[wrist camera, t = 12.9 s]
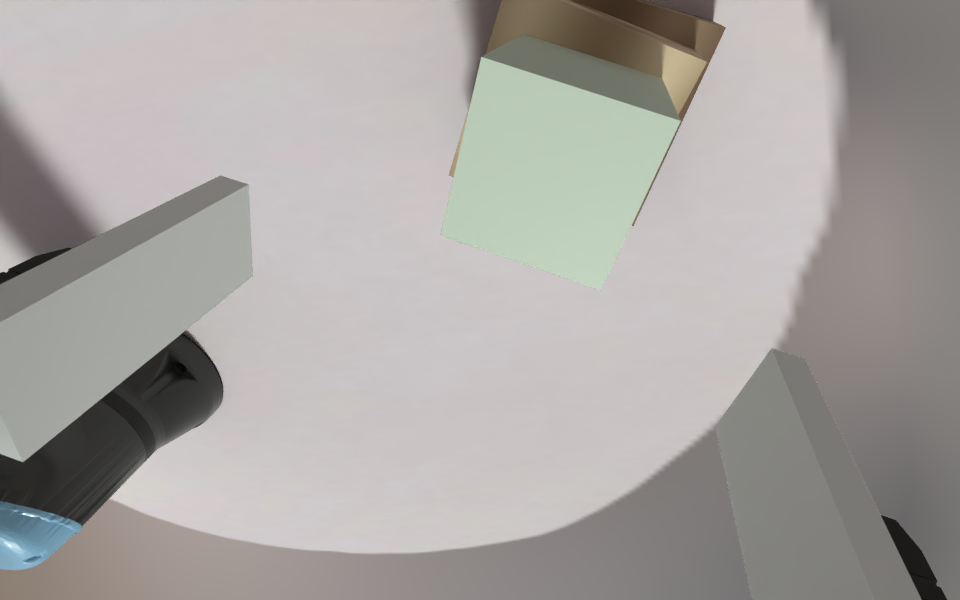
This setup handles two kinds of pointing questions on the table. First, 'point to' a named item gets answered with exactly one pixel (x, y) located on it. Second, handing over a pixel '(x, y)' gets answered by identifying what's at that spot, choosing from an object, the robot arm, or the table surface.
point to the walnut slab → (666, 35)
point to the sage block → (557, 158)
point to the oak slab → (597, 42)
